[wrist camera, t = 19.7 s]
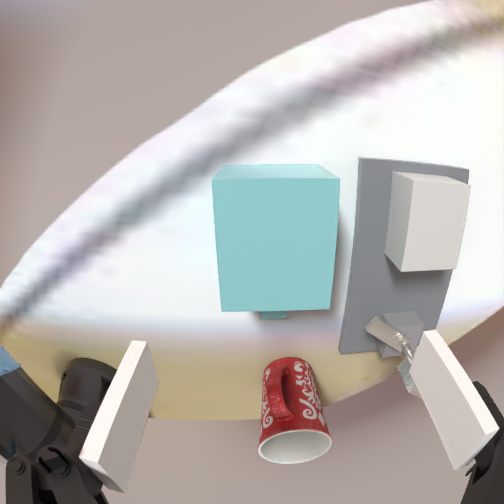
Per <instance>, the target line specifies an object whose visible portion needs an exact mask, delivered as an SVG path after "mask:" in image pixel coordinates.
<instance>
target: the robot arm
mask: <svg viewBox="0 0 504 504" xmlns="http://www.w3.org/2000/svg"><path fill="white" fill-rule="evenodd" d="M20 366H21V365H20V364H19V363H17V362H16V361H15V360H14V359H13V358H12V357H11V355H10V354H9V353H8V352H7V351H6V350H5V349H4V348H3V347H2V346H0V464H7V465H6V504H109V503H108V501H107V499H106V497H105V495H104V493H103V492H102V491H101V488H102V485H103V484H104V485H105V486H106V487H107V488H108V489H110V490H114V491H118V492H121V493H126V490H127V487H128V483H129V479H130V476H131V472H132V469H133V465H134V462H135V458H136V455H137V451H138V448H139V444H140V441H141V438H142V435H143V431H144V428H145V425H146V422H147V418H148V415H149V412H150V409H151V406H152V403H153V400H154V396H155V393H156V390H157V387H158V384H159V380H158V377H157V374H156V371H155V367H154V364H153V361H152V357H151V354H150V351H149V347H148V344H147V342H146V341H132V342H131V344H130V346H129V348H128V350H127V352H126V354H125V356H124V358H123V360H122V362H121V364H120V366H119V368H118V370H115V369H114V368H112V367H110V366H108V365H106V364H104V363H102V362H99V361H96V360H93V359H88V358H77V359H74V360H72V361H71V362H69V364H68V365H67V367H66V368H65V370H64V372H63V374H62V380H61V385H60V391H59V397H58V401H57V403H54V402H53V401H52V400H51V399H50V398H49V397H48V396H47V395H46V394H45V393H44V392H43V391H42V390H41V388H40V387H39V386H38V385H37V384H36V383H35V382H34V381H33V380H32V379H31V378H30V377H29V376H28V374H27V373H26V372H25V371H24V370H23V369H22V368H21V367H20ZM409 373H410V375H411V377H412V379H413V381H414V383H415V385H416V387H417V389H418V391H419V393H420V395H421V397H422V399H423V400H424V403H425V405H426V407H427V409H428V411H429V414H430V416H431V418H432V420H433V422H434V424H435V426H436V429H437V431H438V433H439V435H440V438H441V440H442V442H443V445H444V447H445V449H446V452H447V454H448V457H449V459H450V461H451V464H452V466H453V469H454V470H457V469H459V468H462V467H464V466H467V465H468V464H469V463H470V462H471V461H472V460H473V459H474V458H475V460H476V463H475V464H474V465H473V466H472V467H471V468H470V470H469V471H467V473H466V476H467V475H469V473H471V472H472V473H471V476H470V480H469V482H468V485H467V488H466V491H465V493H464V496H463V499H462V501H461V504H504V418H503V416H502V414H501V412H500V411H499V409H498V407H497V406H496V404H495V403H494V401H493V399H492V398H491V397H490V395H489V393H488V392H487V390H486V388H485V387H484V386H482V385H481V384H480V383H479V382H478V381H475V382H471V381H470V379H469V377H468V376H467V374H466V373H465V371H464V370H463V368H462V367H461V365H460V364H459V362H458V361H457V359H456V358H455V357H454V355H453V354H452V352H451V351H450V349H449V348H448V346H447V345H446V343H445V342H444V340H443V339H442V338H441V336H440V335H439V333H438V332H437V331H436V330H430V331H423V334H422V337H421V340H420V343H419V346H418V349H417V352H416V354H415V357H414V360H413V363H412V365H411V368H410V370H409Z"/></svg>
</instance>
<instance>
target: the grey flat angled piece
mask: <svg viewBox="0 0 504 504" xmlns="http://www.w3.org/2000/svg"><path fill="white" fill-rule="evenodd" d="M365 329H366V331H367V332H369V333H370V334H372V335H373V336H375V337H377V338H378V339H380V340H382V341H383V342H385V343H386V344H388V345H390V346H391V347H393V348H394V349H396V350H398V351H399V352H401V351H402V350H403V352H404V354H405V356H406V359H405V360H403V361H402V362H401V363H400V364H399V365H398V366H397V369H398V371H399V373H400V375H401V377H402V379H403V382H404V384H405V386H406V388H407V390H408V392H409V393H411V394H413V395H415V396H417V397H419V398H421V399H422V397H421V395H420V393H419V391H418V389H417V387H416V385H415V383H414V381H413V379H412V377H411V375H410V373H409V370H410V368H411V365H412V363H413V360H414V357H415V352H414V351H413V349H412V347H411V345H410V343H411V340H410V338H409V337H407V336H406V335H404V334H403V333H401V332H400V331H399V330H397V329H396V328H394V327H393V326H391V325H390V324H388V323H387V322H385V321H384V320H382V319H381V318H380V317H378V316H377V315H376V316H375V317H374V318H373V319H372V320H371V321H370V322H369V323H368V324H367V325H366V326H365Z"/></svg>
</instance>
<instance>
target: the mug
mask: <svg viewBox="0 0 504 504" xmlns="http://www.w3.org/2000/svg"><path fill="white" fill-rule="evenodd" d="M332 444H333V439H332V437H331V436H330V434H329V432H328V428H327V424H326V420H325V416H324V413H323V409H322V405H321V402H320V398H319V395H318V391H317V387H316V384H315V380H314V376H313V372H312V369H311V367H310V365H309V364H308V363H307V362H306V361H304V360H302V359H299V358H294V357H286V358H281V359H278V360H275V361H273V362H272V363H270V364H269V365H268V366H267V367H266V369H265V370H264V374H263V393H262V412H261V427H260V443H259V445H258V453H259V455H260V456H261V457H263V458H264V459H266V460H268V461H271V462H276V463H285V464H291V463H301V462H306V461H309V460H312V459H315V458H317V457H320V456H321V455H323V454H325V453H326V452H327V451H328V450H329V449H330V448H331V446H332Z"/></svg>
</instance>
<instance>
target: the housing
mask: <svg viewBox="0 0 504 504" xmlns="http://www.w3.org/2000/svg"><path fill="white" fill-rule="evenodd" d="M468 178H469V169H465V168H460V167H453V166H446V165H438V164H430V163H422V162H412V161H402V160H391V159H378V158H363V157H359V165H358V187H357V203H356V217H355V229H354V240H353V250H352V259H351V268H350V276H349V284H348V291H347V299H346V305H345V312H344V318H343V325H342V331H341V337H340V342H339V348H338V349H339V352H340V354H345V353H356V352H366V351H375V350H379V352H380V354H381V357H382V358H387V357H394V356H402V355H405V354H404V352H403V350H402V351H401V352H399V351H398V350H396V349H394V348H393V347H391V346H390V345H388V344H386V343H385V342H383V341H382V340H380V339H378V338H377V337H375V336H373V335H372V334H370V333H369V332H367V331H366V329H365V326H366V325H367V324H368V323H369V322H370V321H371V320H372V319H373V318H374V317H375V316H376V315H377V316H378V317H380V318H381V319H382V320H384V321H385V322H387V323H388V324H390V325H391V326H393V327H394V328H396V329H397V330H399V331H400V332H401V333H403V334H404V335H406V336H407V337H409V338H410V340H411V343H410V345H411V347H412V349H413V351H414V352H415V349H416V347H417V345H419V343H420V340H421V337H422V334H423V331H430V330H435V329H436V326H437V323H438V320H439V316H440V313H441V310H442V307H443V304H444V300H445V297H446V293H447V290H448V286H449V282H450V278H451V275H452V271H453V269H456V266H457V261H458V257H459V252H460V248H461V243H462V238H463V233H464V227H465V222H466V216H467V209H468V202H469V195H470V187H471V186H470V185H468Z"/></svg>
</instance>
